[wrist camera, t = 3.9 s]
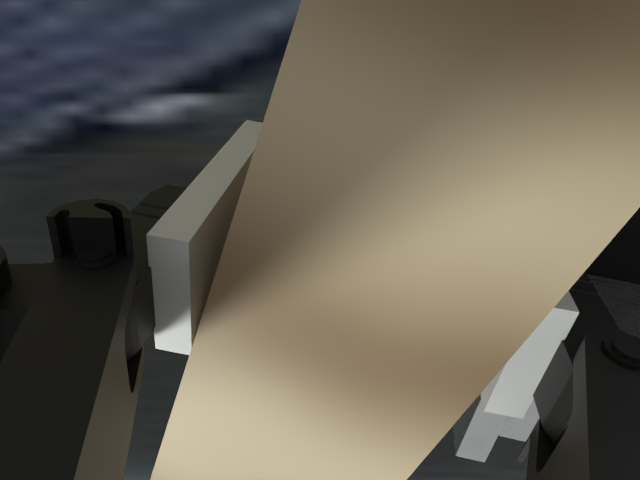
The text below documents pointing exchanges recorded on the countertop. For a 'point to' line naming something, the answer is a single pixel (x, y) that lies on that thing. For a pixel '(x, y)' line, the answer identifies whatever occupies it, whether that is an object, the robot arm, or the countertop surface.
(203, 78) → the countertop surface
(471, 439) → the block
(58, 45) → the countertop surface
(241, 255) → the rail
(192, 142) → the countertop surface
